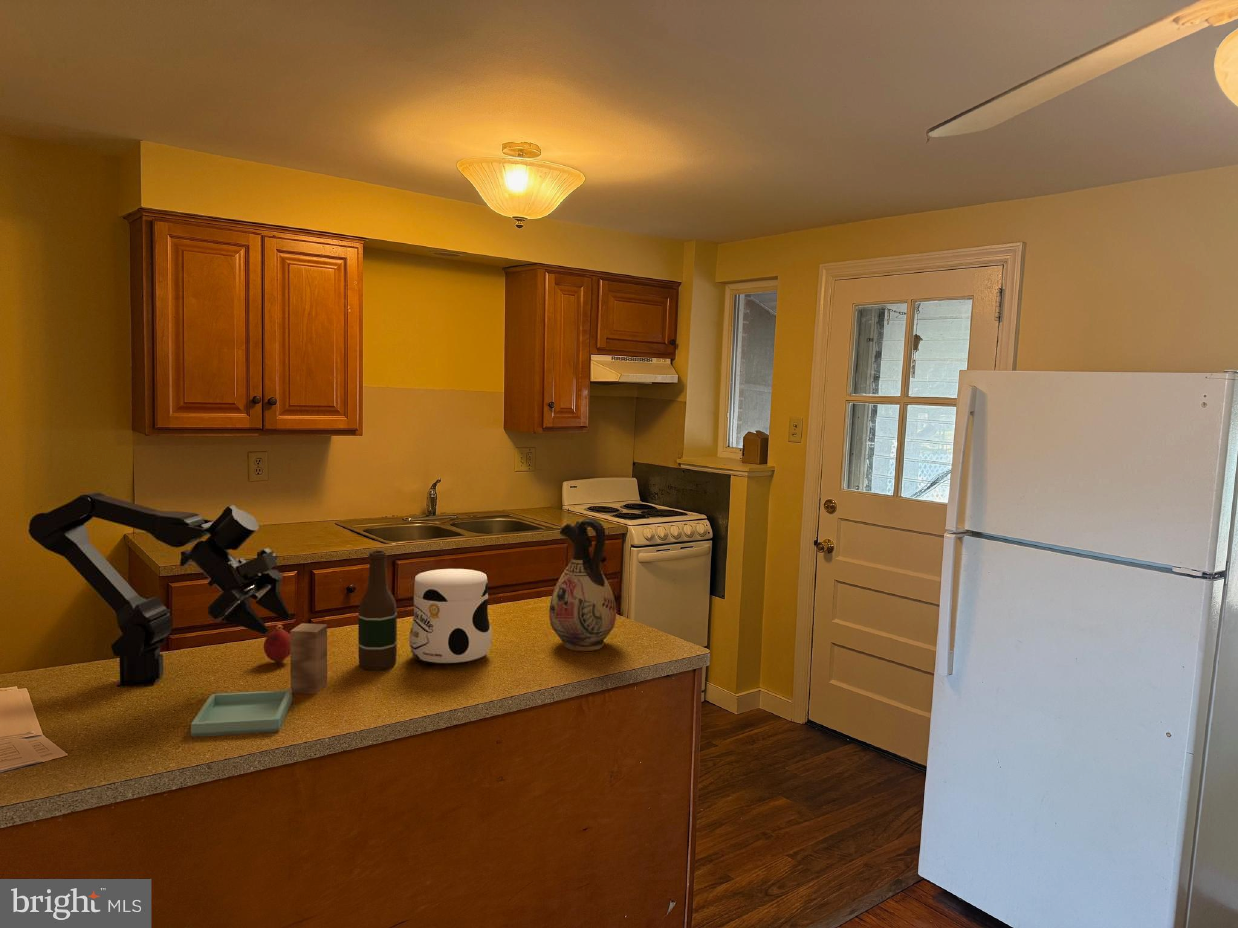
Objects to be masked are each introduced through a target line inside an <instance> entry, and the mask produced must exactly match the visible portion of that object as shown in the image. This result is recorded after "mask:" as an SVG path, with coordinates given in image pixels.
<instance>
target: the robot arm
mask: <svg viewBox="0 0 1238 928" xmlns="http://www.w3.org/2000/svg"><path fill="white" fill-rule="evenodd" d="M94 518H95V519H96V518H97V519H99V520H103V521H107V522H111V523H115V524H118V525H121V526H124V527H129V528H132V529H136V530H138V531H139V530H140V531H143V532H145V533H148V534H149V535H151V536H152V537H153V538H154V539H155V540H156V541H159V542H160V543H162V544H164V545H166V546H169V547H171V548H176V549H177V548H182V547H185V546H188V545H190V544H194V543H195V544H194V545H193V546H192V547H191V548H190V549H186V550H183V551H181V552H180V561H179V566H180V567H185V566H188V565H190V564H193V563H194V565H196V567H198V569H199V570H200V571H202V573H203V574H204V575H205V576H206V577H207V578H208V579H209V580H208V581H207V583H206V584H208V586H209V587H210V588H211V587H215V586H216V587H217V589H219V590H220V591H221V593H220V594H219V596H218V597H216V598H215V599H214V600H213V601H212V603H210V604H209V606H208V607H207V614H208V615H209V617H211V619H213V621H214V622H216V621H219V620H220V621H221V622H222V623H224V622H226V623H229V624H233V625H235V626H239V627H242V628H246V629H248V630H251V631H254V632H256V633H259V634H262V635H266V634H267V633H268V632H269V628H268V627H267V626H266V624H265V622H264V621H263V620H262V619H261V618H260V617H259V615H258V614H257V613H256V611H255V610H254V609H253V607H252V601H251V599H252V600H254V601H255V604H256V605H258V606H260V607H262V608H263V609H264V610H267V611H269V612H270V613H272V614H274V615H276V616H277V617H279V618H280V619H283V620H285V621H289V619H291V616H292V615H291V613H290V611H289V610H288V607H287V605H286V604H285V602H284V599H283V596H282V594H281V584H282V583H283V581H282V579H283V577H284V576H283V575H282V574H281V573H280V571H278V570H277V569H274V568H277V567H278V566H279V565H278V562H277V559H278V557H279V556H278V554H277V553H275V552H274V550H271V549H270V548H268V547H266V548H264V549H261V550H259V551H257V553H256V557H255V558H252V559H250V560H248V561H246V559H245V558H243V557H238V558H235V556H233V554H232V553H230V552H229V551H230V550H232V551H237V550H239V548H240V547H242V546H243V544H245V543H246V542H247V541H248V540H249V539H250V538H251V537H252V535H253V534H254V533H256V532H257V530H259V528H260V527H259V523H258V520H256V518H255V517H254V516H253V515H252V514H249V513H247V511H245V510H242V509H239V508H237V507H236V506H235V505H234V504H231V505H228V506H227V507H225V508H224V509H223V511H222V512H221V514H220V515H219V516H218V517H217V518H216V519H215V520H213V519H205V518H203V516H202V515H200V514H199V513H197V512H188V511H178V510H177V511H175V510H172V511H171V510H168V511H167V510H159V509H156V508H151V507H148V506H144V505H140V504H138V503H133V502H129V501H127V500H122V499H119V498H115V497H111V496H109V495H106V494H104V493H101V492H97V491H95V492H89V493H86V494H85V493H84V494H80V495H78V496H77V497H76V498H74V499H72V500H71V501H69V502H67V503H65V504H63V505H59V506H58V507H56V508H55V509H52V510H50V511H45V512H39V513H37V514H34V515H33V516H32V518H31V519H30V521H29V524H28V525H29V527H28V535H29V536H30V537H31V539H33V541H35V542H36V543H38V544H39V545H40V546H42V547H43V548H44V549H45V550H47V551H49V552H52V553H53V554H54V553H55V554H56V555H59V556H62V557H63V558H64V559H65V560H66V561H67V562H68V563H69V564H70V566H72V567H73V568H74V569H75V571H77V572H78V574H79V575H80V576H81V577H82V578H83V579H84V580H85V582H87V584H89V586H90V587H91V588H92V589H93V590H94V591H95V592H96V593H97V594H98V596H99V597H100V598H101V599H102V600H103V601H104V602H105V603H106V604H107V605H108V606H109V607H110V609H111V610H112V611H113V612H114V613H115V617H116V622H117V627H118V629H119V632H121V634H122V635H120V636H119V637H118V638H117V639H116V640H115V641H114V642H113V643H112V644H111V645H110V648H111V650H112V654H113V656H114V657H118V658H119V663H118V664H119V681H118V682H117V683H116V687H118V688H121V687H139V686H140V687H143V686H153V685H155V684H157V682H158V681H159V680H160V679H161V677H162V676H163V675H164V655H163V654H162V653H161V647H160V645H163V644H165V641H166V639H167V636H168V635H169V634H171V632H172V629H173V622H174V620H173V617H172V615H171V614H170V613H171V610H170V609H169V608H167V607H166V606H165V605H164V604H163V603H162V602H161V600H160V599H159V597H157V596H152V597H151V598H148V599H147V598H144V597H143V596H142V597H141V596H140V595H139V594H138V593H137V592H136V591H135V590H134V589H133V587H132V586H131V585H130V584H129V583H128V582H127V581H126V580H125V579H124V578H123V577H122V576H121V574H120V573H119V572H118V571H117V570H116V569H115V567H113V566H112V565H111V563H110V562H109V561H108V560H107V559H106V558H105V557H104V556H103V555H102V554H101V552H100V551H99V550H98V549H97V548H96V547H95V546H94V545H93V544H92V543H91V540H90V538H89V535H88V534H89V533H88V528H87V525H86V524H87V523H89V522H90V521H92V520H93V519H94ZM206 536H208V537H207V538H206V539H205V540H202V539H203V538H204V537H206Z"/></svg>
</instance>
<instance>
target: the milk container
mask: <svg viewBox="0 0 1238 928" xmlns="http://www.w3.org/2000/svg"><path fill="white" fill-rule="evenodd" d="M413 585H414V586H413V587H414V588H413V589H414V591H413V592H414V595H413V620H412V623H411V627H410V631H409V640H408V641H409V648H410V652H411V654H412V656H413V658H415V659H416V660H418V661H419V662H421V663H425V664H427V665H430V666H431V665H433V666H439V667H440V666H442V667H444V666H445V667H446V666H449V667H450V666H451V667H453V666H454V667H455V666H463V665H467V664H471V663H475V662H478V661H480V660H481V659H483V658H484V657H486V656H487V655H488V653H489V651H490V649H491V646H492V638H493V637H492V636H493V634H492V627H491V624H490V619H489V614H488V610H489V609H488V606H489V594H488V593H489V582H488V577H487V574H486V573H484V572H482V571H480V570H475V569H465V568H442V569H431V570H427V571H424V572H420V573H418V574H417V575H415V578H414V584H413Z"/></svg>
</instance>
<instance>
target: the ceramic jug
mask: <svg viewBox="0 0 1238 928" xmlns="http://www.w3.org/2000/svg"><path fill="white" fill-rule="evenodd" d="M589 528H590V529H592V530H593V531H594V533H595V534H594V535H595V543H594V547H593V553H592V555H591V551H590V548H592V546H593V541H592V539H591V536H590V535H589V532H588V529H589ZM558 533H559V535H560V536H562V537H563V538H565V539H568V541H570V542H572V543H573V545H574V554H573V557H571V560H570V561H569V563H568V564H567V566H566V567H565V569H564V571H563V573H562V574H561V576H560V577H559V579H558V581H557V583H556V585H555V587H554V588H553V592H552V595H551V598H550V603H549V604H550V605H549V610H548V613H549V614H548V619H549V623H550V627H551V629H552V630H553V631H554V633H555V634H556V635H557V637H558V638H559V639H560V641H561V642H562V644H563V647H564V648H565V649H568V650H570V651H579V652H589V651H598V650H600V649H601V648H603V646H604V645H605V642H604V641H605V640H606V638H607V637H608V636H609V635H610V634H611V632H612V631H613V629H614V627H615V625H616V621H617V619H616V618H617V604H616V599H615V597H614V594H613V590H612V588H611V586H610V584H609V582H608V580H607V579H606V577H605V575H604V573H603V572H602V570H601V568H600V566H601V561H602V557H603V552H604V548H605V545H606V530H605V528H604V526H603V524H602V523H601V522H600V521H598V519H596V518H585V519H583V520H581V521H578V520H577V521H576V522H575V524H574V525H571V524H570V523H567V524H565V525H563V526H562V528H561V529H560V531H559V532H558Z"/></svg>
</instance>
